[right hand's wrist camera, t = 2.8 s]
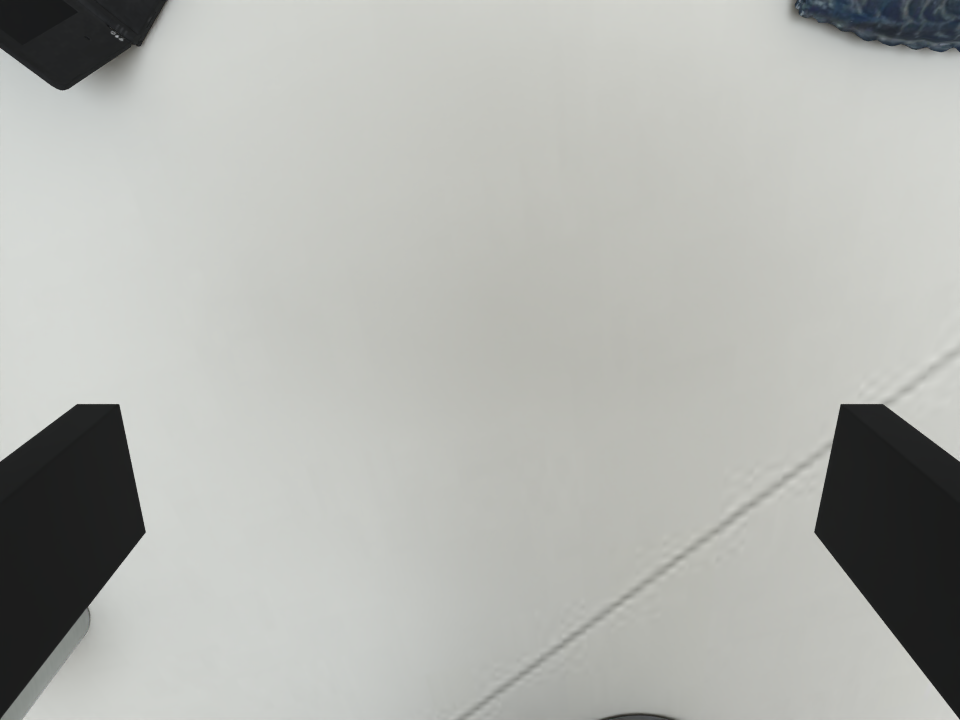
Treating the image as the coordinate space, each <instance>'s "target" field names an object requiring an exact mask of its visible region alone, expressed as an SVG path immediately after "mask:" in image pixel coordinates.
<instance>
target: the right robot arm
mask: <svg viewBox="0 0 960 720" xmlns="http://www.w3.org/2000/svg"><path fill="white" fill-rule="evenodd" d="M145 533H146V531H145V526H144V522H143V517H142V512H141V507H140V502H139V497H138V493H137V488H136V483H135V478H134V473H133V468H132V464H131V459H130V454H129V449H128V444H127V439H126V435H125V430H124V425H123V420H122V415H121V410H120V406H119V404H77V405H75V406H74V407H73V408H71V409H70V410H69V411H67V412H66V413H65V414H63V415H62V416H61V417H59V418H58V419H57V420H55V421H54V422H53V423H51V424H50V425H49V426H47V427H46V428H45V429H43V430H42V431H41V432H39V433H38V434H37V435H35V436H34V437H33V438H31V439H30V440H29V441H27V442H26V443H25V444H23V445H22V446H21V447H19V448H18V449H17V450H15V451H14V452H13V453H11V454H10V455H9V456H7V457H6V458H5V459H3V460H2V461H1V462H0V719H1V718H2V717H3V715H4V714H5V713H6V711H7V710H8V709H9V708H10V706H11V705H12V704H13V702H14V701H15V700H16V699H17V697H18V696H19V695H20V693H21V692H22V691H23V690H24V688H25V687H26V686H27V684H28V683H29V682H30V680H31V679H32V678H33V677H34V675H35V674H36V673H37V671H38V670H39V669H40V668H41V666H42V665H43V664H44V662H45V661H46V660H47V659H48V657H49V656H50V655H51V653H52V652H53V651H54V650H55V648H56V647H57V646H58V644H59V643H60V642H61V641H62V639H63V638H64V637H65V635H66V634H67V633H68V632H69V630H70V629H71V628H72V626H73V625H74V624H75V623H76V621H77V620H78V619H79V617H80V616H81V615H82V614H83V612H84V611H85V610H86V608H87V607H88V606H89V605H90V603H91V602H92V601H93V599H94V598H95V597H96V596H97V594H98V593H99V592H100V590H101V589H102V588H103V587H104V585H105V584H106V583H107V581H108V580H109V579H110V578H111V576H112V575H113V574H114V572H115V571H116V570H117V569H118V567H119V566H120V565H121V563H122V562H123V561H124V560H125V558H126V557H127V556H128V554H129V553H130V552H131V551H132V549H133V548H134V547H135V545H136V544H137V543H138V542H139V540H140V539H141V538H142V536H143V535H144V534H145ZM814 533H815V534H816V535H817V536H818V538H819V539H820V540H821V542H822V543H823V544H824V545H825V547H826V548H827V549H828V551H829V552H830V553H831V554H832V556H833V557H834V558H835V560H836V561H837V562H838V563H839V565H840V566H841V567H842V569H843V570H844V571H845V572H846V574H847V575H848V576H849V578H850V579H851V580H852V581H853V583H854V584H855V585H856V587H857V588H858V589H859V590H860V592H861V593H862V594H863V596H864V597H865V598H866V599H867V601H868V602H869V603H870V605H871V606H872V607H873V608H874V610H875V611H876V612H877V614H878V615H879V616H880V617H881V619H882V620H883V621H884V623H885V624H886V625H887V626H888V628H889V629H890V630H891V632H892V633H893V634H894V635H895V637H896V638H897V639H898V641H899V642H900V643H901V644H902V646H903V647H904V648H905V650H906V651H907V652H908V653H909V655H910V656H911V657H912V659H913V660H914V661H915V662H916V664H917V665H918V666H919V668H920V669H921V670H922V671H923V673H924V674H925V675H926V677H927V678H928V679H929V680H930V682H931V683H932V684H933V686H934V687H935V688H936V690H937V691H938V692H939V693H940V695H941V696H942V697H943V699H944V700H945V701H946V702H947V704H948V705H949V706H950V708H951V709H952V710H953V711H954V713H955V714H956V715H957V717H958V718H959V719H960V462H959V461H958V460H957V459H955V458H954V457H953V456H951V455H950V454H949V453H947V452H946V451H945V450H943V449H942V448H941V447H939V446H938V445H937V444H935V443H934V442H933V441H931V440H930V439H929V438H927V437H926V436H925V435H923V434H922V433H921V432H919V431H918V430H917V429H915V428H914V427H913V426H911V425H910V424H909V423H907V422H906V421H905V420H903V419H902V418H901V417H899V416H898V415H897V414H895V413H894V412H893V411H891V410H890V409H889V408H887V407H886V406H885V405H883V404H841V406H840V410H839V415H838V420H837V425H836V430H835V435H834V439H833V444H832V449H831V454H830V459H829V464H828V468H827V473H826V478H825V483H824V488H823V493H822V497H821V502H820V507H819V512H818V517H817V522H816V526H815V531H814ZM608 720H669V719H665V718H660V717H654V716H624V717H618V718H612V719H608Z"/></svg>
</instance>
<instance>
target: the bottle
mask: <svg viewBox="0 0 960 720" xmlns="http://www.w3.org/2000/svg"><path fill="white" fill-rule="evenodd" d="M89 623H90V616H89V611H88V608H86V610H85V611H84V612H83V614H82V615H81V616H80V617H79V619H78V620H77V621H76V623H75V624H74V625H73V626H72V628H71V629H70V630H69V632H68V633H67V634H66V635H65V637H64V638H63V639H62V641H61V642H60V643H59V644H58V646H57V647H56V648H55V650H54V651H53V652H52V653H51V655H50V656H49V657H48V659H47V660H46V661H45V662H44V664H43V665H42V666H41V668H40V669H39V670H38V671H37V673H36V674H35V675H34V677H33V678H32V679H31V680H30V682H29V683H28V684H27V686H26V687H25V688H24V690H23V691H22V692H21V693H20V695H19V696H18V697H17V699H16V700H15V701H14V702H13V704H12V705H11V706H10V708H9V709H8V710H7V711H6V713H5V714H4V715H3V717H2V718H1V719H0V720H22V719H23V718H24V716H25V715H26V714H27V712H28V711H29V710H30V708H31V707H32V706H33V704H34V703H35V702H36V700H37V699H38V698H39V696H40V695H41V694H42V692H43V691H44V689H45V688H46V687H47V685H48V684H49V683H50V681H51V680H52V679H53V677H54V676H55V675H56V673H57V672H58V671H59V669H60V668H61V667H62V665H63V664H64V663H65V661H66V660H67V658H68V657H69V656H70V654H71V653H72V652H73V650H74V649H75V648H76V646H77V645H78V644H79V642H80V641H81V640H82V638H83V637H84V636H85V634H86V632H87V630H88V628H89Z"/></svg>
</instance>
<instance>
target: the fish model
mask: <svg viewBox="0 0 960 720" xmlns="http://www.w3.org/2000/svg"><path fill="white" fill-rule="evenodd" d="M795 8H796V9H798V10H799V15H800V16H802V17H805V18H809V17H813V18H815V19H816V20H817V21H818V22H822V23H830V24H833V25H834V26H836V27H837V28H838V29H840V30H841V31H851V32H853V33H855V34H856V35H857V36H859V37H860V38H862V39H863V40H866V41H872V40H878V41H880V42H881V43H883V44H886V45H889V46H896V45H899V44H903V45H906V46H908V47H910V48H911V49H915V50H917V49H921V48H924V47H928V48H929V49H931V50H933V51H938V52H944V51H947V50H948V49H950V48H953V47H954V48H956V49H957V50H958V51H959V52H960V0H797V2H796V3H795Z"/></svg>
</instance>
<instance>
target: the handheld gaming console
mask: <svg viewBox="0 0 960 720" xmlns="http://www.w3.org/2000/svg"><path fill="white" fill-rule="evenodd" d="M165 1H166V0H0V48H1V49H3V50H4V51H5V52H7V53H8V54H9V55H11V56H12V57H13V58H15V59H16V60H17V61H19V62H20V63H21V64H23V65H24V66H26V67H27V68H28V69H30V70H31V71H32V72H34V73H35V74H36V75H38V76H39V77H40V78H42V79H43V80H45V81H46V82H47V83H49V84H50V85H51V86H53V87H55V88H56V89H59V90H66V89H69V88H71V87H72V86H74V85H75V84H76V83H78V82H79V81H81V80H82V79H84V78H85V77H87V76H88V75H90V74H91V73H93V72H94V71H96V70H97V69H99V68H100V67H102V66H103V65H105V64H106V63H108V62H109V61H111V60H112V59H114V58H115V57H116V56H118V55H119V54H121V53H122V52H124V51H125V50H127V49H128V48H130V47H131V44H133V45H136V46H141V44H142V41H143V40H144V38H145V36H146V34H147V33H148V31H149V29H150V28H151V26H152V24H153V22H154V21H155V19H156V17H157V15H158V14H159V12H160V10H161V8H162V7H163V5H164V3H165ZM109 26H110V27H111V28H112V29H113V30H115V31H116V32H117V33H119V34H120V35H121V36H122V37H121V36H120V35H119V34H117V33H116V32H115V31H113V30H112V29H111V28H110V27H109ZM123 37H124V38H125V39H124V38H123Z"/></svg>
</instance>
